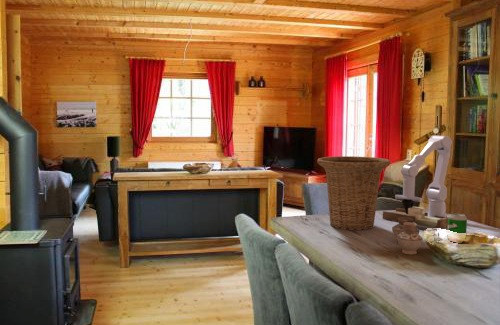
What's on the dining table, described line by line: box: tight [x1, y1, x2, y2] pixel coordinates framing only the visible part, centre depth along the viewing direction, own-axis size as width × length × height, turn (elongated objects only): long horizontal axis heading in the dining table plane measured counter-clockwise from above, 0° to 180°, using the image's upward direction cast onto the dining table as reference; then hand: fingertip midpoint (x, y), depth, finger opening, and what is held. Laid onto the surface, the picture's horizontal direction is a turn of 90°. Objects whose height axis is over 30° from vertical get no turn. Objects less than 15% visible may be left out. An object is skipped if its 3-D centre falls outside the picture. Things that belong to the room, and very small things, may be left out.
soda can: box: [447, 212, 468, 234], centre depth 206 cm, size 8×8×12 cm
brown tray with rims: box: [382, 207, 448, 229], centre depth 246 cm, size 16×32×4 cm, turn 43°
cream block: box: [408, 206, 426, 219], centre depth 246 cm, size 6×6×4 cm
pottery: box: [391, 217, 424, 255], centre depth 197 cm, size 11×25×12 cm, turn 169°
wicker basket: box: [316, 155, 391, 231], centre depth 236 cm, size 35×35×33 cm
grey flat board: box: [413, 216, 445, 231], centre depth 240 cm, size 29×12×2 cm, turn 133°
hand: (408, 213), depth 249 cm, fingers closed
